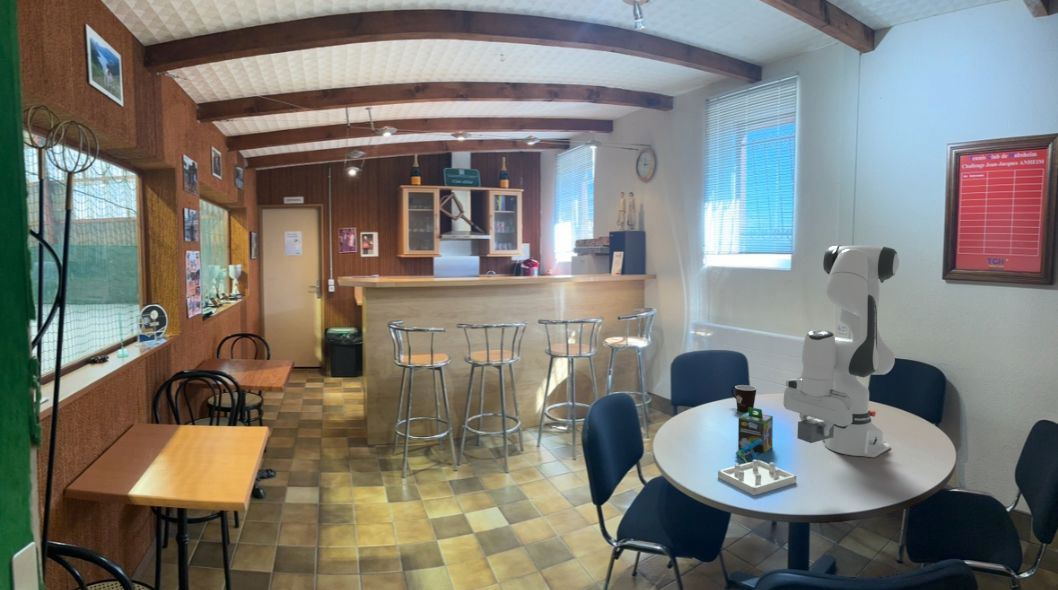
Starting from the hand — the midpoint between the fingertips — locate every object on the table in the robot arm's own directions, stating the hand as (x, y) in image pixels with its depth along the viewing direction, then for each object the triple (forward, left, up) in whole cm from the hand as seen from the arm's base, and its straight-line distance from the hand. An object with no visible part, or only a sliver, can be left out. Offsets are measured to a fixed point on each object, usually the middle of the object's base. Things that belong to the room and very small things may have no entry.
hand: (815, 431), depth 167 cm
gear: (0, -25, -17) cm, 30 cm away
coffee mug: (-42, -65, -17) cm, 79 cm away
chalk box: (-10, -31, -17) cm, 37 cm away
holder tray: (+11, -12, -17) cm, 23 cm away
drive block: (0, 0, -2) cm, 2 cm away
